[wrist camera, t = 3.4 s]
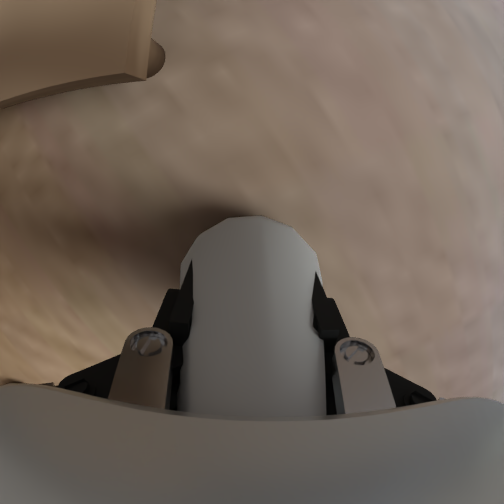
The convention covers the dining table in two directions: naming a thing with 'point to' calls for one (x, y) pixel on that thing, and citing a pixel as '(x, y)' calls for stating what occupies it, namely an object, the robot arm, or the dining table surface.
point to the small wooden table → (74, 46)
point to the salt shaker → (252, 323)
